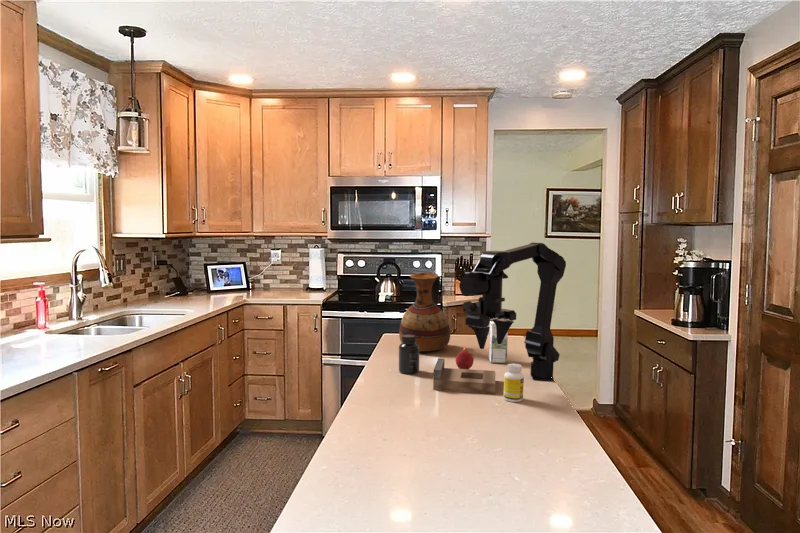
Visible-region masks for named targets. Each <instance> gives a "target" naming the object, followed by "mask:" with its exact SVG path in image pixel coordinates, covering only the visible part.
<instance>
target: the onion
mask: <svg viewBox="0 0 800 533" xmlns="http://www.w3.org/2000/svg"><path fill="white" fill-rule="evenodd" d="M455 363H456V364H455V365H456V366H457V369H471V368H472V367H473V365H474V357H473V355H472V353H471V352H469V351H468V348H467V347H464V348H463V349H462V350H461V351H460V352H458V354H457V355H456V357H455Z"/></svg>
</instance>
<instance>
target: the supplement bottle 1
mask: <svg viewBox="0 0 800 533" xmlns="http://www.w3.org/2000/svg"><path fill="white" fill-rule="evenodd" d="M416 341H417V340H416V335H403V336H402V343H401V342H400V344H399V345H398V371H399V373H401V374H405V375H414V374H415V375H416V374H418V373H419V372H420V351H419V345H418V344H417V343H416Z"/></svg>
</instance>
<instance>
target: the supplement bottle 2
mask: <svg viewBox="0 0 800 533" xmlns="http://www.w3.org/2000/svg"><path fill="white" fill-rule="evenodd" d="M522 368H523V366H522V365H521V364H519V363H508V364H507V367H506V369H507V371H505V372H504V376H503V377H504V378H503V395H502V396H503V399H504V400H505V401H506V402H511V403H519V402H521V401H523V400H524V383H525V382H524V381H525V380H524V379H525V376H524V374H523V372H522V371H523V370H522Z"/></svg>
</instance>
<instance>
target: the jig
mask: <svg viewBox="0 0 800 533" xmlns="http://www.w3.org/2000/svg"><path fill="white" fill-rule="evenodd" d="M445 360H446V359H445V358H442V357H441V358H439V357H438V358H437V361H436V363H435V366H434V368H433V376H432V378H433V384H432V385H433V387H432V390H434V391H445V392H446V391H447V392H461V393H462V392H463V393H474V394H475V393H476V394H477V393H478V394H491V395H495V394H496V370H485V369H483V370H482V369H471V368H470V369H459V368H453V367H452V368H448V367H445Z"/></svg>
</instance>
